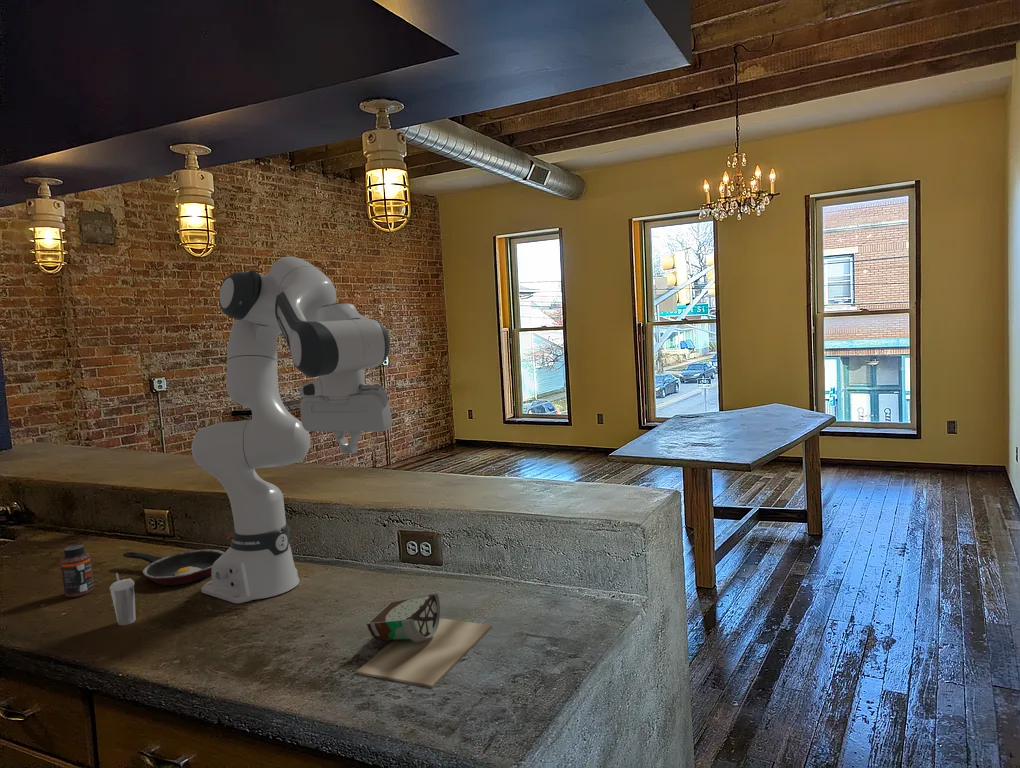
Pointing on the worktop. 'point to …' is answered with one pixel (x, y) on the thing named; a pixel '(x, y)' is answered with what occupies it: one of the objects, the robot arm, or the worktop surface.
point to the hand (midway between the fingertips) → (349, 452)
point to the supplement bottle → (76, 572)
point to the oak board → (425, 654)
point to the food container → (407, 619)
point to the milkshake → (124, 600)
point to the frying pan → (178, 566)
